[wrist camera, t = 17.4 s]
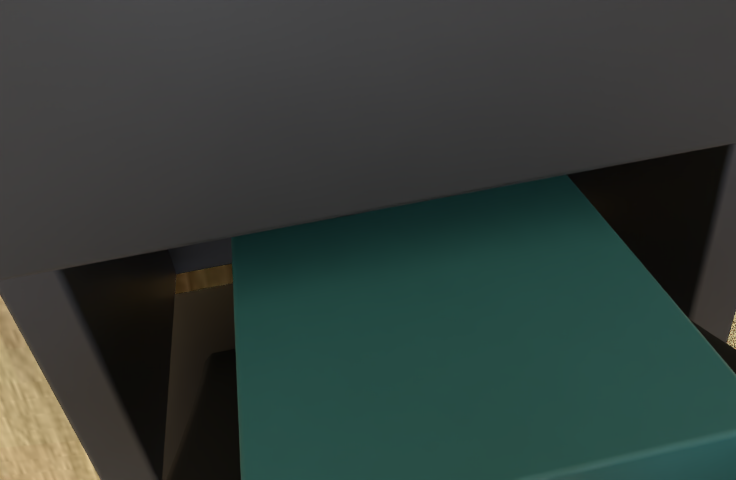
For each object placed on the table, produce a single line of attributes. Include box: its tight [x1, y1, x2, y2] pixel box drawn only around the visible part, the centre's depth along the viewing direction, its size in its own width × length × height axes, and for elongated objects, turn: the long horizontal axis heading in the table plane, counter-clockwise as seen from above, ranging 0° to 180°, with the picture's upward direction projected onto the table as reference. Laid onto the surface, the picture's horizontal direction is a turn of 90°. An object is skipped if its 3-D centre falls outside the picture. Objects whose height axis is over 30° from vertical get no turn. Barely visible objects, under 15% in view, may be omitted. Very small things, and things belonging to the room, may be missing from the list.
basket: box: [0, 143, 736, 480], centre depth 13 cm, size 17×11×7 cm, turn 6°
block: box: [231, 175, 736, 480], centre depth 9 cm, size 4×4×5 cm
